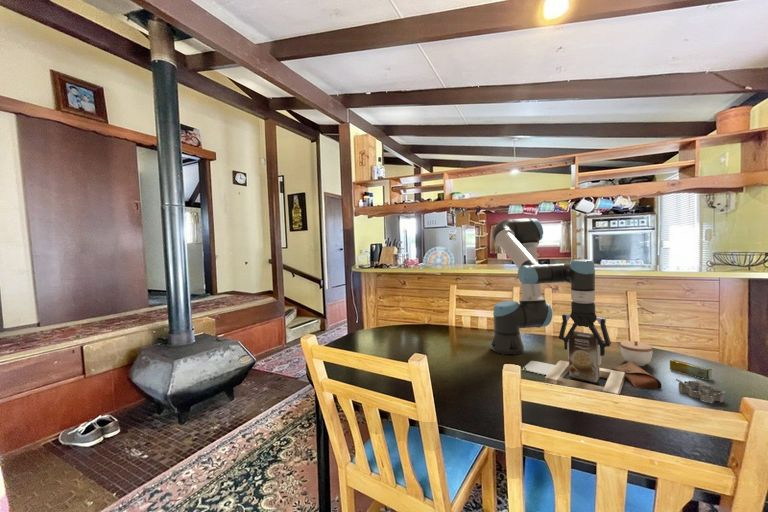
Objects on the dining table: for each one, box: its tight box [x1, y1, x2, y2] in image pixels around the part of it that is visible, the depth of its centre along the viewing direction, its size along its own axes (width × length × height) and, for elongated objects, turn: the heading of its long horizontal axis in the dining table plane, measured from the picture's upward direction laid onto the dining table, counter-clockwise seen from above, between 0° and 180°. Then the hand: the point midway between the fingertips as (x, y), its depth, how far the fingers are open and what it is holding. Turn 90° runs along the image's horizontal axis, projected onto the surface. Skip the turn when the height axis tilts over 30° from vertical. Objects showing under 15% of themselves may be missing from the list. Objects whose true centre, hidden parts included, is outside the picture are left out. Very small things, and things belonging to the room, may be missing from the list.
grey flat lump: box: [675, 378, 726, 403], centre depth 106 cm, size 11×8×4 cm
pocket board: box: [544, 360, 626, 395], centre depth 120 cm, size 22×21×2 cm
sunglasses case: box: [610, 361, 662, 389], centre depth 121 cm, size 18×7×7 cm, turn 170°
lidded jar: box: [619, 340, 654, 367], centre depth 134 cm, size 11×11×9 cm
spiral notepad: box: [521, 360, 556, 376], centre depth 134 cm, size 10×12×1 cm
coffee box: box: [568, 330, 600, 383], centre depth 120 cm, size 9×6×16 cm
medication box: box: [669, 359, 713, 381], centre depth 122 cm, size 12×3×4 cm, turn 22°
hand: (584, 360), depth 120 cm, fingers closed on coffee box, 9 cm apart
